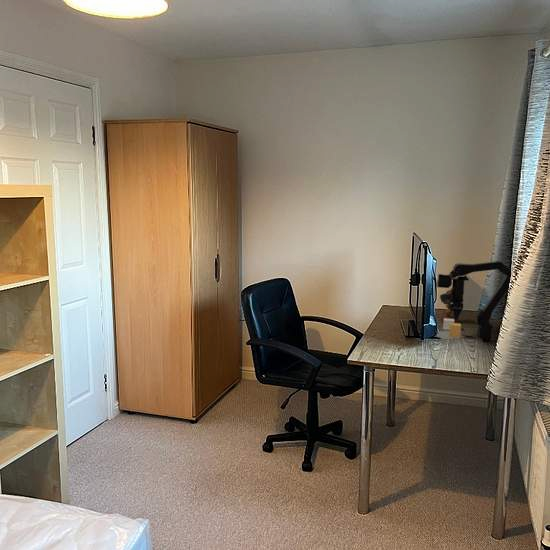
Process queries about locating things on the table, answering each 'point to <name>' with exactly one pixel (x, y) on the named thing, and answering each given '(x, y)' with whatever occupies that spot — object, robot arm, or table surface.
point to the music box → (448, 311)
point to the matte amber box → (455, 330)
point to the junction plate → (446, 335)
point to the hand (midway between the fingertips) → (455, 318)
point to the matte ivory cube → (447, 323)
